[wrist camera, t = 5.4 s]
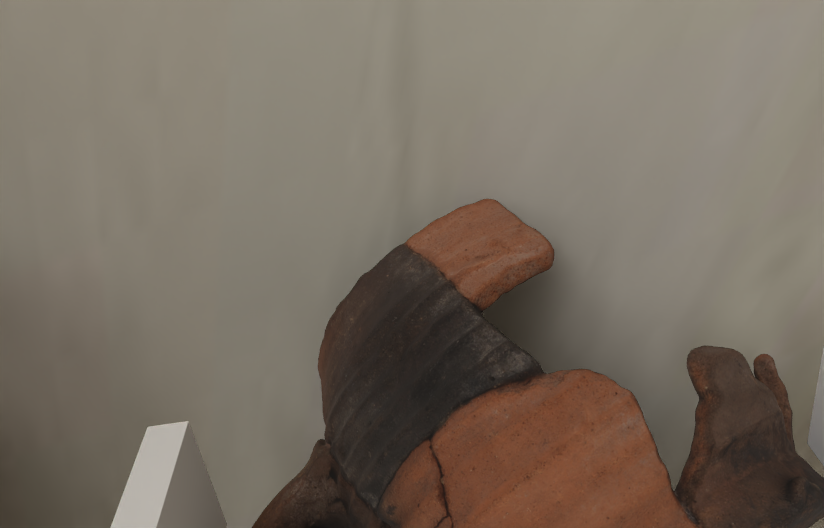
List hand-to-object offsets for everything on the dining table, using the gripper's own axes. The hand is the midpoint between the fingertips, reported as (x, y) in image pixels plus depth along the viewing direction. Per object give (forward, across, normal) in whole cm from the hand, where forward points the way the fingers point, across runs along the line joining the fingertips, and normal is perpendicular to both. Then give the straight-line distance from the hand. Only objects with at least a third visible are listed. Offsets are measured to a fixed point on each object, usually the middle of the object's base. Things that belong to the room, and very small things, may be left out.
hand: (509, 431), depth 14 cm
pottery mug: (+4, -2, -1) cm, 5 cm away
